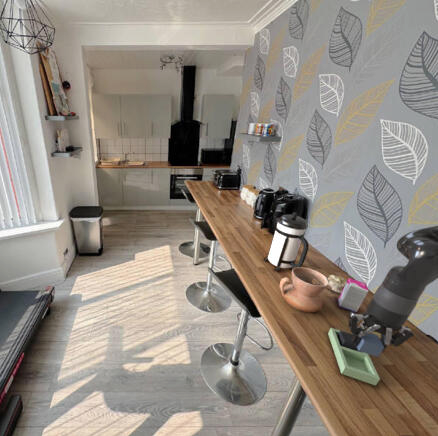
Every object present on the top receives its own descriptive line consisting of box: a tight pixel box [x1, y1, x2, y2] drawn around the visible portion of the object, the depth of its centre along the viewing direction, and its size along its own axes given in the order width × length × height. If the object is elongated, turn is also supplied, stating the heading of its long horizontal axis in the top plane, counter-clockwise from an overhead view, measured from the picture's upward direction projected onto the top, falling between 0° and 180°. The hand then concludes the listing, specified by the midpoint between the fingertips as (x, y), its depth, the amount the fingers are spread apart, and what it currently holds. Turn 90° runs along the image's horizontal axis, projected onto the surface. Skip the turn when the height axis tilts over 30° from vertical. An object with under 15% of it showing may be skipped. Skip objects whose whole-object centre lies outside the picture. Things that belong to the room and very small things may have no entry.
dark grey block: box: [337, 330, 358, 351], centre depth 79 cm, size 5×5×4 cm
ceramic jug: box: [279, 266, 332, 314], centre depth 96 cm, size 18×14×14 cm
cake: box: [326, 274, 348, 294], centre depth 108 cm, size 10×10×5 cm
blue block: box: [357, 333, 384, 358], centre depth 69 cm, size 5×5×4 cm
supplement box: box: [337, 277, 369, 314], centre depth 96 cm, size 6×6×12 cm
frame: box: [327, 327, 381, 386], centre depth 76 cm, size 8×16×3 cm, turn 157°
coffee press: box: [263, 211, 309, 272], centre depth 117 cm, size 17×16×30 cm
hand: (365, 346), depth 70 cm, fingers closed on blue block, 4 cm apart
